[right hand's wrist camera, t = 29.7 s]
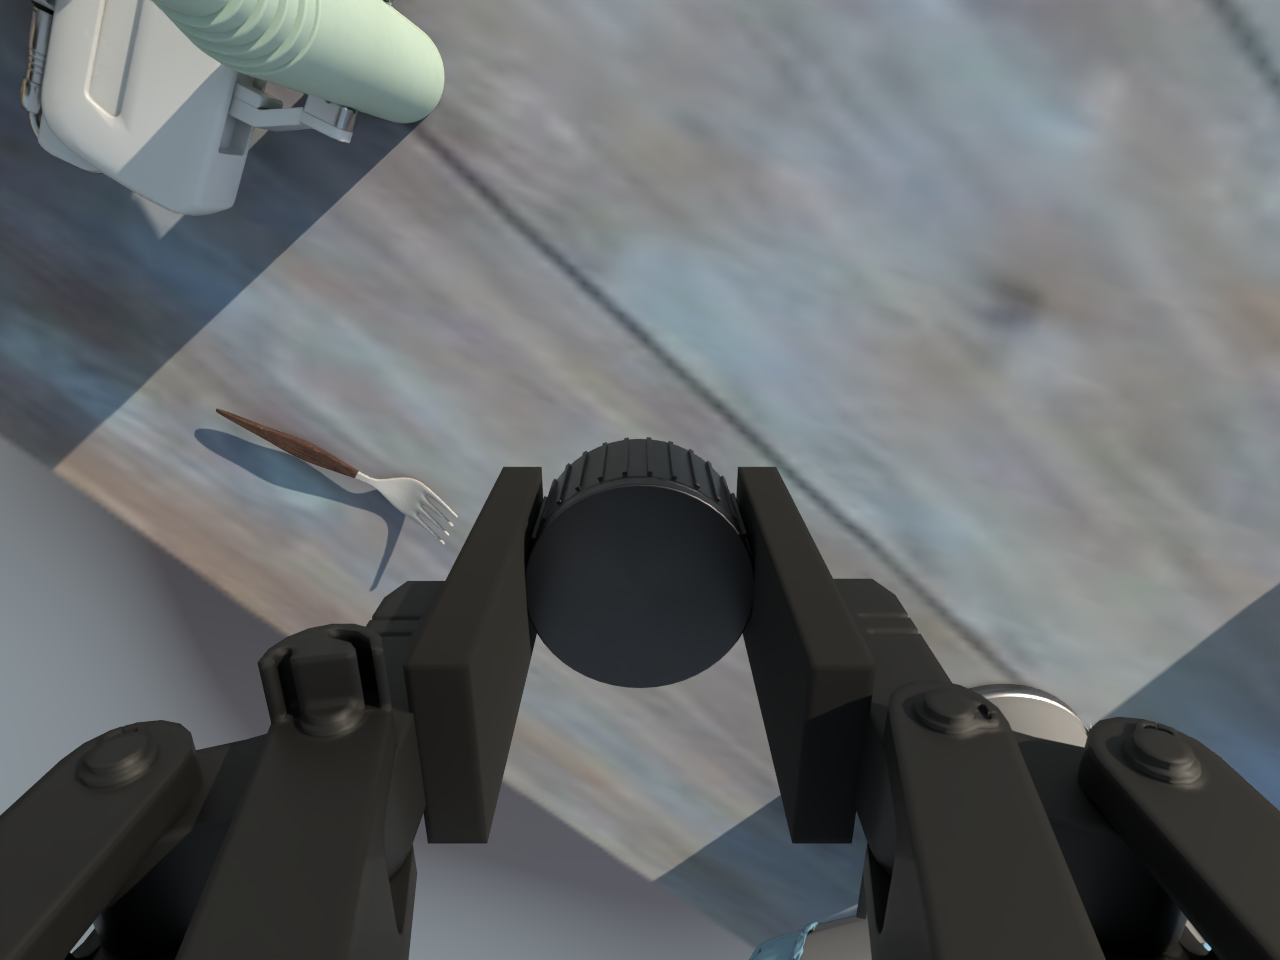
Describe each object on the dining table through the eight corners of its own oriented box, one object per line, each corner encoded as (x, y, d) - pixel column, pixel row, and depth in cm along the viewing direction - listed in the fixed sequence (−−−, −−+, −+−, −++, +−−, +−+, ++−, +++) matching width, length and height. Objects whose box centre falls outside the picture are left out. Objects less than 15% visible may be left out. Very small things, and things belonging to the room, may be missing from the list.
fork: (227, 389, 44) (208, 397, 42) (466, 502, 47) (458, 514, 45) (214, 425, 45) (196, 434, 43) (450, 534, 48) (442, 547, 46)
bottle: (426, 8, 37) (161, -232, 17) (457, 110, 39) (250, 6, 18) (339, 34, 38) (-26, -168, 17) (373, 133, 39) (79, 59, 19)
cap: (505, 566, 15) (481, 632, 13) (597, 397, 14) (588, 437, 11) (677, 647, 16) (683, 724, 13) (779, 494, 14) (805, 550, 12)
